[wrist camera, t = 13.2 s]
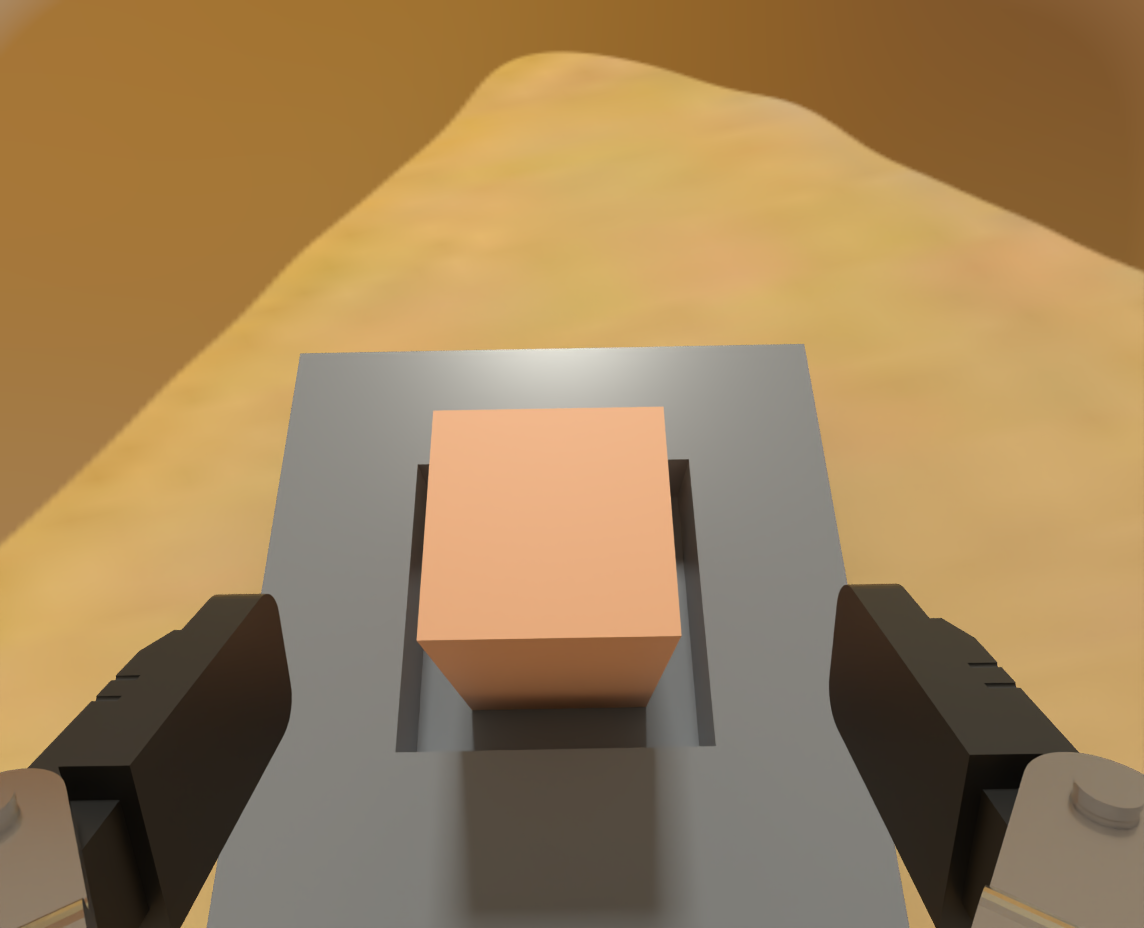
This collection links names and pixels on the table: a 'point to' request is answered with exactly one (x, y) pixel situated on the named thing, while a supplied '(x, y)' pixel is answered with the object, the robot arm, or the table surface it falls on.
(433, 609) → the block
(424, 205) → the table surface
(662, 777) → the block
